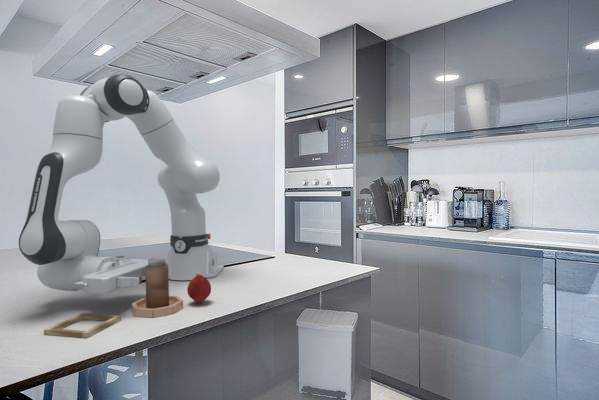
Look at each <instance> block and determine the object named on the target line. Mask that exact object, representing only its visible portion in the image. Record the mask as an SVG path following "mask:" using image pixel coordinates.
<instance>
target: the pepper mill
mask: <svg viewBox="0 0 599 400" xmlns="http://www.w3.org/2000/svg"><path fill="white" fill-rule="evenodd" d="M147 260H148V265H146V278H145V298H146V308H149V309H155V308H161V307H166V306H169V295H170V283H169V280H170V279H169V268H168V264H167V258H165V257H153V258H152V257H151V258H149V259H147Z"/></svg>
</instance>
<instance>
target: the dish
mask: <svg viewBox="0 0 599 400" xmlns="http://www.w3.org/2000/svg"><path fill="white" fill-rule="evenodd" d="M183 308H184V300H183V298H181V297H180V296H178V295H170V294H169V306H166V307H161V308H155V309H149V308H146V297H144V298H141V299H138V300H137V301H134V302H132V303H131V312H132V315H134V317H136V318H159V317H163V316H168V315H174V314H175V313H177V312H178V311H180V310H182V309H183Z"/></svg>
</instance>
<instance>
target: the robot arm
mask: <svg viewBox="0 0 599 400" xmlns="http://www.w3.org/2000/svg"><path fill="white" fill-rule="evenodd" d="M124 118H127V119H129V120H130V121H131V122H132V123H133V124H134V125H135V128H136V129H137V131H138V133H139V134H140V136H141V137H142V138H143V140H144V142H145V144H146V145H147V147H148V148H149V149H150V151H151V153H152V154H153V156H154V157H156V159H158V160H160V161H162V163H164V164H165V165H164V166H162V167H161V168H160V170H159V171H158V173H157V182H158V185H159V187H160V188H161V189H162V190H163V191H164V193H165V196H166V199H167V202H168V205H169V209H170V211H169V212H170V219H171V220H170V223H171V235H170V237H169V242H170V249H169V250H168V251H167V255H166V256H167V258H166V264H168V268H169V280H172V281H191V280H192V279H193V278H195V277H196V274H197V272H199V273H200V274H201V275H202V276H203V277H205V278H206V279H208V278H209V279H210V278H215V277H217V276H218V275H219V274H220V272H221V271H222V270H224V269H225V266H224V265H222V264H219V263H218V254H217V252H216V251H215V250H214V249H213V248H212V246H210V244H209V240H211V238H212V235H211V233H206V232H207V231H206V211H205V209H204V208H203V207H202V206H201V204H200V202H199V199H198V197H197V194H205V193H208V192H210V191H211V192H212V191H213V190H215V189H216V188H217V187H218V186H219V183H220V179H221V176H220V171H219V169H218V167H217V165H216V164H214V163H213V162H211V161H209V160H207V159H206V158H205V157H204V156H202V155H201V154H200V153H199V152H198V151H197V150H196V149H195V147H193V146H192V144H190V142H189V141H188V140H187V139H186V137H185V136H184V133H183V132H182V130H181V128H179V126H178V123H177V121H175V118H174V117H173V115H172V114H171V112H170V111H169V109H168V108H167V106H166V105H165V103H164V102H163V101H162V99H161V98H160V97H159V96H158V94H156V93H155V92H154V91H153V90H149V89H146V88H145V87H144V86H143V85H142V83H141V82H140V81H139V80H138V79H136V78H135V77H134V76H132V75H129V74H124V73H122V74H121V73H118V74H113V75H111V76H108V77H105V78H102V79H99V80H97V81H96V82H94V83H93V84H91V85H88V86H87V87H85V88H84V89H83V90H82V91H81V92H80V94H70V95H65V96H64V97H62V98H60V100H59V101H58V104H57V107H56V110H55V116H54V122H53V129H52V141H51V145H50V148H49V150H48V153H46V154H45V155H44V156H43V157H42V158H41V160H40V161H39V164H38V166H37V170H36V173H35V178H34V181H33V187H32V191H31V195H30V201H29V206H28V210H27V211H28V212H27V216H26V219H25V221H24V222H25V223H24V225H23V227H22V230H21V232H20V235H19V238H18V248H19V250H20V253H21V254H22V256H23V257H24V258H26V260H27V261H29V262H31V264H35V265H36V266H37V265H38V267H37V271H36V272H37V273H36V274H37V275H36V276H37V278H38V280H39V281H40V283H41V284H42V285H44V287H45V286H46V287H47V288H49V289H53V290H57V291H66V292H76V291H77V292H78V291H82V292H85V293H91V294H98V295H99V294H101V295H103V294H108V293H112V292H113V291H114V292H115V291H116V290H120V289H122V288H124V287H131V286H133V287H134V286H135V287H138V286H139V285H142V283H143V280H144V279H146V265H148V260H149V259H144V258H143V259H142V258H130V257H129V256H126V255H122V256H121V255H120V256H114V257H113V256H99V252H100V246H101V233H100V230H99V228H98V226H97V225H96V224H95V223H94V222H92V221H90V220H88V219H79V220H78V219H74V220H73V219H72V220H71V219H70V220H59V213H60V208H61V203H62V198H63V191H64V188H65V186H66V184H67V183H68V182H69V180H71V179H72V178H74V177H76V176H79V175H82V174H85V173H87V172H89V171H91V170H93V169H94V168H96V167H97V166H98V165H99V163H100V162H101V159H102V156H103V148H104V147H103V146H104V145H103V144H104V143H103V142H104V140H103V139H104V133H103V132H104V131H103V129H104V125H105V123H108V122H111V121H113V122H114V121H117V120H118V121H119V120H122V119H124Z"/></svg>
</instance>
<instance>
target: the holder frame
mask: <svg viewBox="0 0 599 400" xmlns="http://www.w3.org/2000/svg"><path fill="white" fill-rule="evenodd" d="M82 320H88V321H89V320H90V321H103V322H101V323H99V324H97V325H95V326H93V327H91V328H89V329H86V330H81V329H66V328H67V327H70V326H71V325H73V324H75V323H78V322H79V321H82ZM121 320H122V315H119V314H118V315H117V314H101V313H99V314H98V313H86V312H82V313H80V314H77V315H75V316H72V317H70V318H68V319H65V320H64V321H61V322H59V323H56V324H54V325H52V326H49V327H46V328H44V329H43V335H46V336H56V337H68V338H78V339H88V338H90V337H92V336H93V335H95V334H98V333H100V332H101V331H104V330H105V329H107V328H109V327H111V326H112V325H114V324H117V323H119V322H120V321H121Z"/></svg>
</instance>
